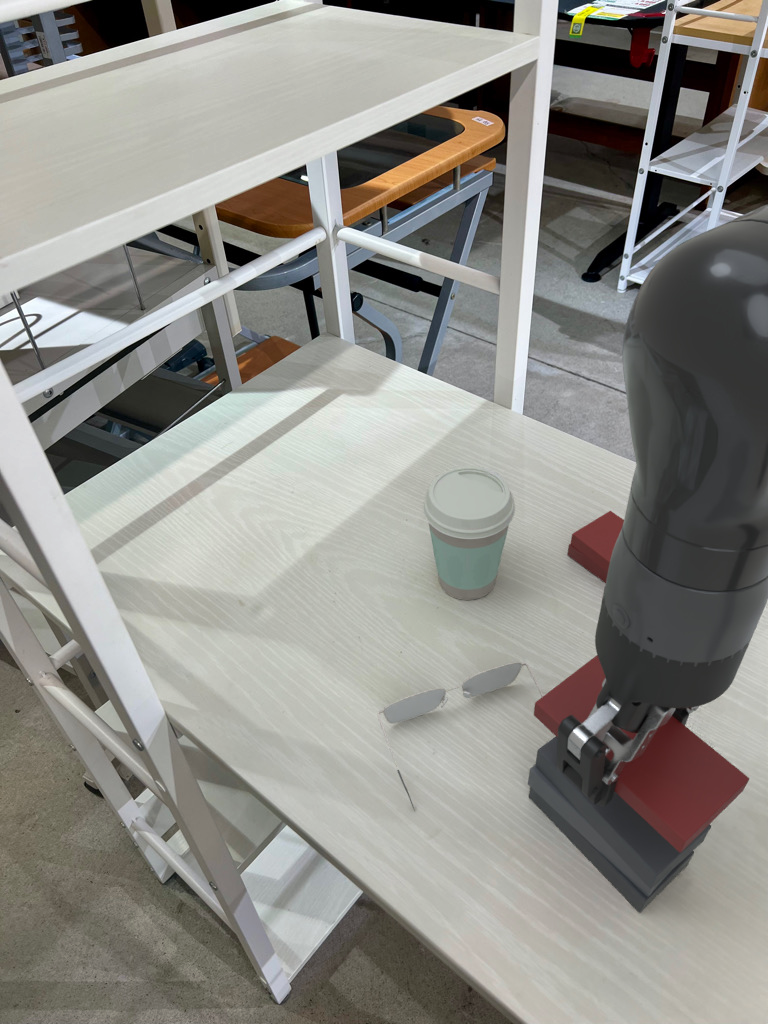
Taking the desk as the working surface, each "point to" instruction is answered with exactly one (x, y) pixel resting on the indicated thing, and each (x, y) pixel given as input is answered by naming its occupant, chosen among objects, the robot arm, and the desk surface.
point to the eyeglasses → (434, 697)
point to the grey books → (608, 833)
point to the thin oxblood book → (655, 764)
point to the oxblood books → (596, 544)
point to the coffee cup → (468, 528)
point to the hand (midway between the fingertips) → (629, 762)
